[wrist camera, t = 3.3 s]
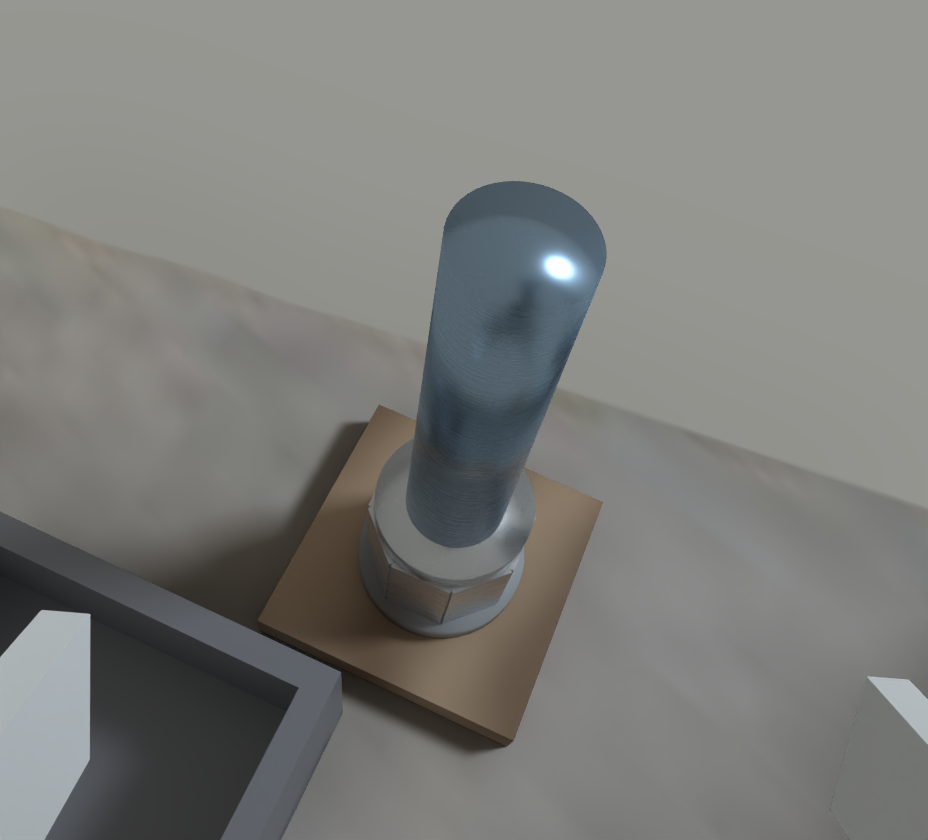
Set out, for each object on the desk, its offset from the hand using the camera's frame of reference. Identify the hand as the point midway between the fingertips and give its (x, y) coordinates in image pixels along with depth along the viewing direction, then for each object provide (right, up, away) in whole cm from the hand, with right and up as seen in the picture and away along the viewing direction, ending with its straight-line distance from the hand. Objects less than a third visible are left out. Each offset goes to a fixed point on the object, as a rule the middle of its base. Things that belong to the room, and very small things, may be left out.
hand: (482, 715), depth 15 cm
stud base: (-1, -1, +23) cm, 23 cm away
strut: (-1, 0, +21) cm, 21 cm away
